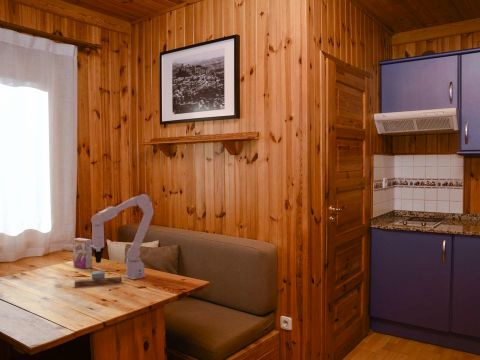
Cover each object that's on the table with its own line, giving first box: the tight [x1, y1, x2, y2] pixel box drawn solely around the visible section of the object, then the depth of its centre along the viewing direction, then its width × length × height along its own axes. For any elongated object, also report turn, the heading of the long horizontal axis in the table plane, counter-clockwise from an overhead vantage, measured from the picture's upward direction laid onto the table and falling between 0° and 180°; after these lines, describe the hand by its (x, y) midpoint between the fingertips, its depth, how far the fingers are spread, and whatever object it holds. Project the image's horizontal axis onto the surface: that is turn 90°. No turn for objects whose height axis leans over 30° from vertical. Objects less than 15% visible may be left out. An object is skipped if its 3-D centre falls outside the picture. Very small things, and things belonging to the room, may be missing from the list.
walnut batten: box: [74, 276, 123, 288], centre depth 211 cm, size 22×3×2 cm, turn 108°
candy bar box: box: [72, 237, 93, 270], centre depth 246 cm, size 11×5×16 cm, turn 58°
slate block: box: [91, 270, 106, 279], centre depth 215 cm, size 6×6×5 cm
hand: (98, 262), depth 222 cm, fingers closed
